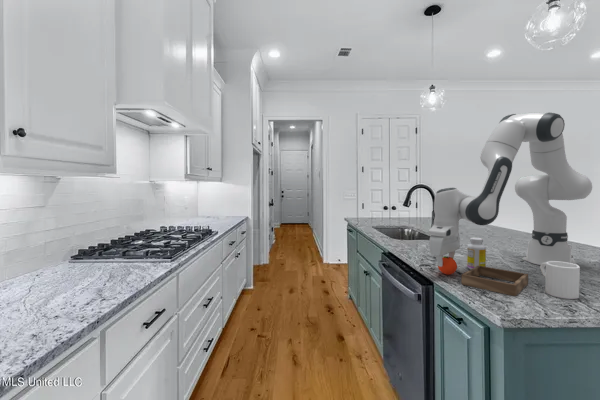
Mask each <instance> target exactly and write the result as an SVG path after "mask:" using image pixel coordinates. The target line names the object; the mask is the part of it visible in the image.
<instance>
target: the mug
mask: <svg viewBox="0 0 600 400" xmlns="http://www.w3.org/2000/svg"><path fill="white" fill-rule="evenodd" d="M576 264H577V263H576ZM576 264H573V263H568V262H561V261H548V262H544V263H542V264H541V265H539V268H540V272H541V273H542V276H543V277H544V278H545V281H544V283H545V285H544V286H545V287H544V292H545V293H546V294H547V295H549V296H552V297H555V298H559V299H566V300H577V299H579V298H580V281H581V280H580V272H581V267H580V265H578V264H577V265H576ZM545 265H546V266H545Z"/></svg>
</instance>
